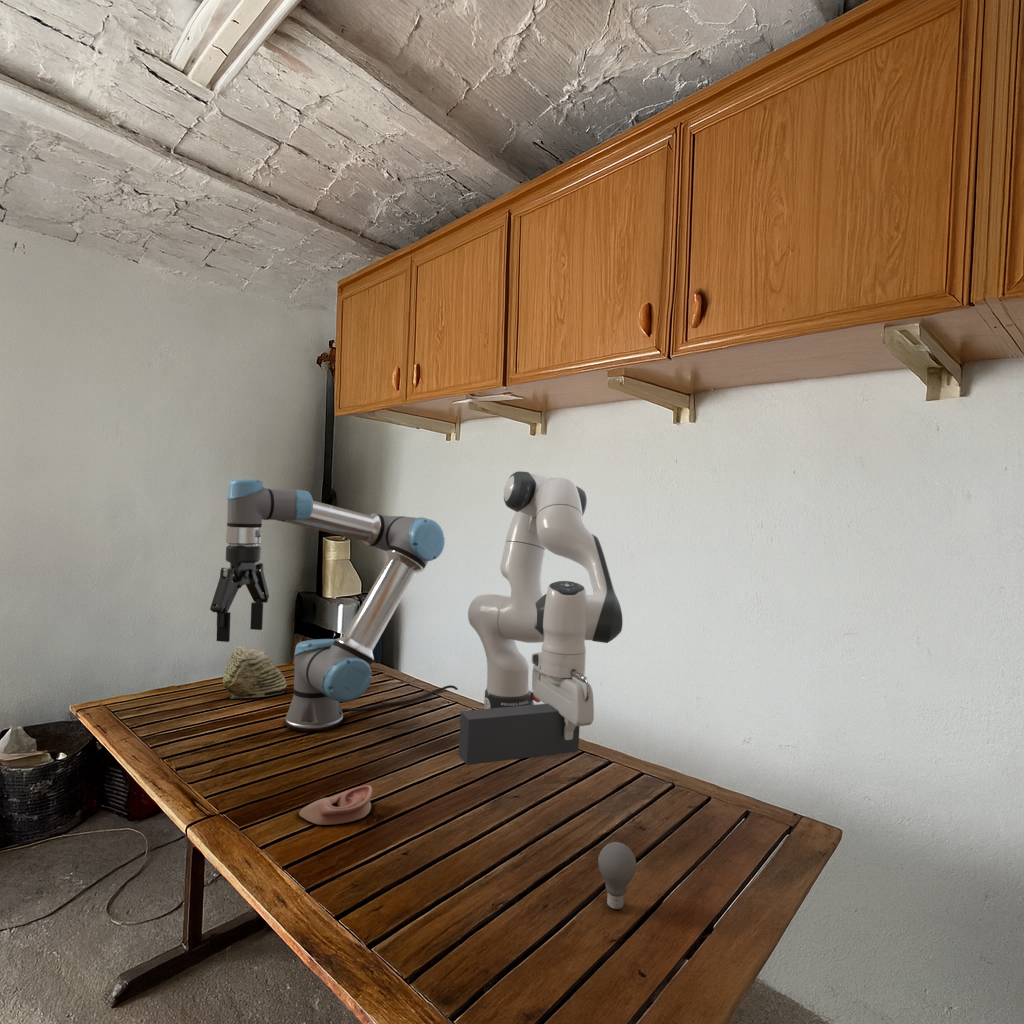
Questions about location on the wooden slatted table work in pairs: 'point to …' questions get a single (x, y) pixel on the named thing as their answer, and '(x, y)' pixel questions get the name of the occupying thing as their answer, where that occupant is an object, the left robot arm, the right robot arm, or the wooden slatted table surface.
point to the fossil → (252, 674)
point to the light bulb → (616, 871)
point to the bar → (513, 734)
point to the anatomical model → (339, 807)
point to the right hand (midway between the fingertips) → (559, 732)
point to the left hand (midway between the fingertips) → (240, 635)
